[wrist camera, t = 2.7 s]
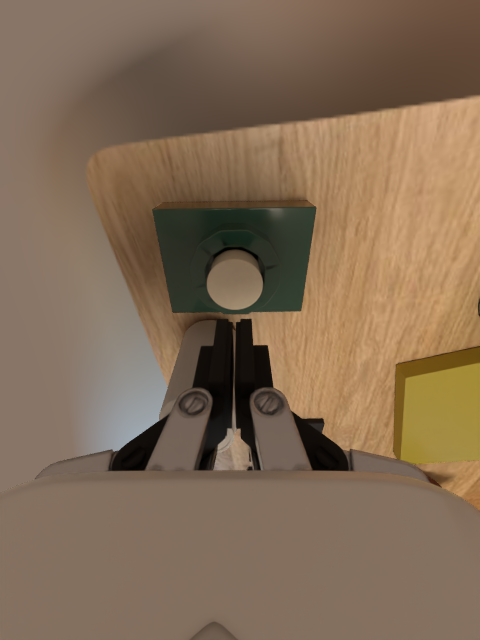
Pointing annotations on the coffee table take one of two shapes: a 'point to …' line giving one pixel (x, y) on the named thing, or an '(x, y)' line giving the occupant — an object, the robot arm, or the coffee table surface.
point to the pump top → (235, 280)
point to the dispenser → (241, 234)
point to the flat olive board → (438, 408)
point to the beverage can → (186, 368)
